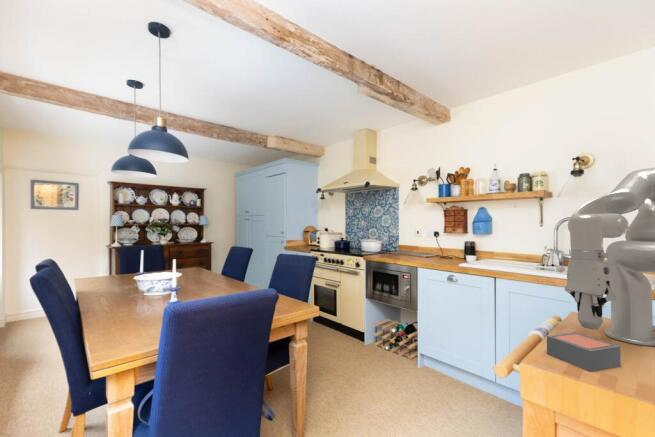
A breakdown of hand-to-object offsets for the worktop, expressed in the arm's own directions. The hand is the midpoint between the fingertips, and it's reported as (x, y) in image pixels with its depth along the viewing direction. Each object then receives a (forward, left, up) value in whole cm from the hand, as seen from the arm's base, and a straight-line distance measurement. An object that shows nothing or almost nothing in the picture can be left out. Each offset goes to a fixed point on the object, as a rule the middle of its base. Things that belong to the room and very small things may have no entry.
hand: (589, 316), depth 91 cm
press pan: (+12, +6, -5) cm, 14 cm away
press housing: (+12, +6, -9) cm, 16 cm away
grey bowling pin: (0, 0, -4) cm, 4 cm away
